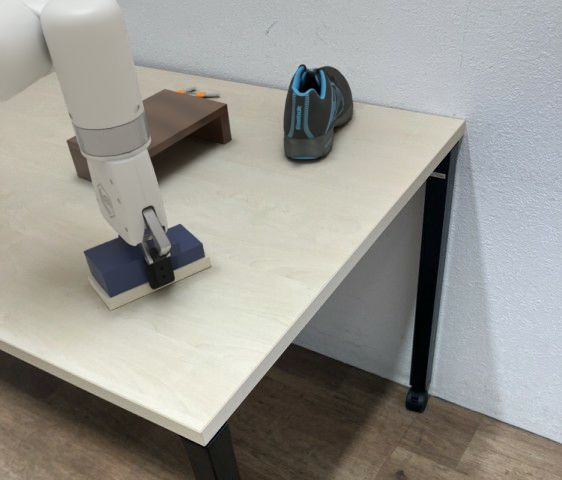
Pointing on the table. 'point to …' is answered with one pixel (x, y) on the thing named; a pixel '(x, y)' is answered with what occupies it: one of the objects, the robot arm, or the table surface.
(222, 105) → the shoe shelf
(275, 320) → the table surface
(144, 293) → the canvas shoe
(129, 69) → the robot arm
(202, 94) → the key chain
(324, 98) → the running shoe
